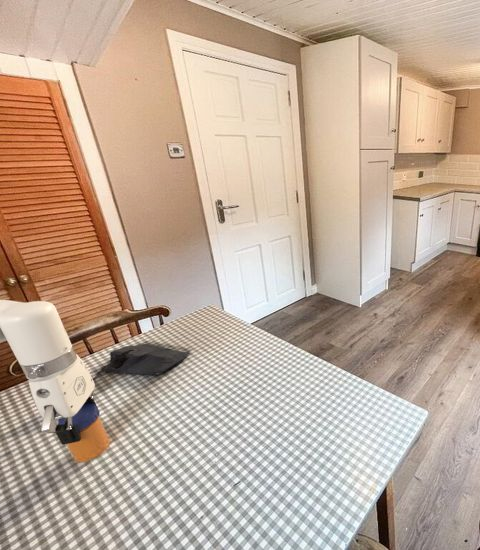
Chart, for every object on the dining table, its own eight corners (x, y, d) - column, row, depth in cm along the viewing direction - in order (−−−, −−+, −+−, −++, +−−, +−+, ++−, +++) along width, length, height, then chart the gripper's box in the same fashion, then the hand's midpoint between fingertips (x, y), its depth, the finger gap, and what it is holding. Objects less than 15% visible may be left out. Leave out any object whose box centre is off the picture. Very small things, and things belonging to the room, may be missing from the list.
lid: (54, 422, 66) (51, 417, 66) (96, 403, 71) (94, 398, 70) (58, 441, 62) (55, 435, 61) (102, 420, 67) (100, 414, 66)
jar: (67, 466, 66) (50, 434, 62) (82, 441, 71) (67, 411, 68) (102, 457, 68) (88, 426, 64) (114, 434, 73) (101, 404, 70)
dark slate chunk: (155, 384, 89) (150, 371, 87) (97, 372, 94) (92, 360, 92) (194, 353, 103) (191, 341, 101) (142, 344, 108) (138, 333, 106)
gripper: (47, 386, 54) (82, 456, 61) (94, 335, 69) (117, 395, 76) (-8, 396, 52) (34, 468, 58) (53, 341, 67) (81, 402, 74)
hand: (81, 426), depth 67 cm, fingers closed on lid, 7 cm apart
